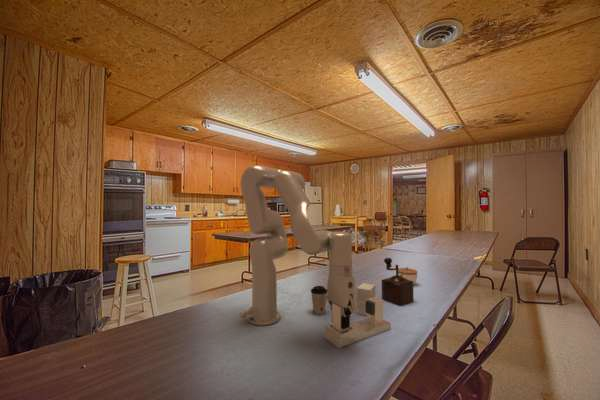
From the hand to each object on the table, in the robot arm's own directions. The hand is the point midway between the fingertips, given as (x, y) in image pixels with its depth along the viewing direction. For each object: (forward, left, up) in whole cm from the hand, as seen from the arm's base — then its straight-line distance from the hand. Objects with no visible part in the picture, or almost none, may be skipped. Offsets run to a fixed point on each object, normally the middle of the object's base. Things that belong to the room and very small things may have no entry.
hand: (340, 324), depth 87 cm
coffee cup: (+7, +22, -5) cm, 24 cm away
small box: (+24, +12, -5) cm, 27 cm away
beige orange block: (0, 0, -1) cm, 1 cm away
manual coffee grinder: (+46, +16, -5) cm, 49 cm away
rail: (+8, 0, -5) cm, 9 cm away
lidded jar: (+71, +27, -5) cm, 76 cm away
